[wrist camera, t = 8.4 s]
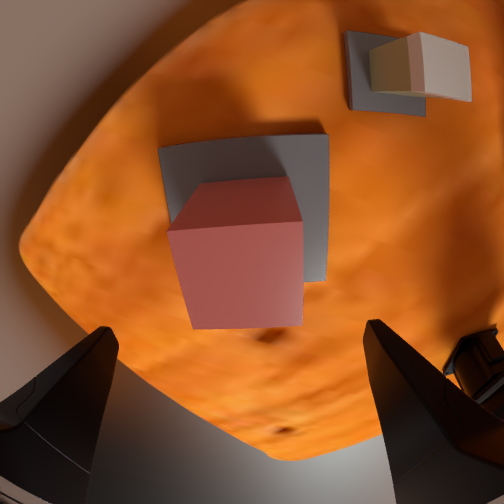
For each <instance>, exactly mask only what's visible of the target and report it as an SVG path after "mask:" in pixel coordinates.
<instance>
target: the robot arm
mask: <svg viewBox="0 0 504 504" xmlns="http://www.w3.org/2000/svg"><path fill="white" fill-rule="evenodd" d="M497 333H498V330H497V328H495V329H491V330H488V331H485V332H481V333H477V334H474V335H470V336H466V337H463V338H462V339H461V340H460V341H459V343H458V345H457V347H456V349H455V351H454V353H453V355H452V357H451V358H450V360H449V362H448V364H447V366H446V367H445V369H444V371H443V374H444V375H443V374H442V373H441V372H440V371H439V370H438V369H437V368H436V367H434V366H433V365H432V364H431V363H430V362H429V361H428V360H427V359H425V358H424V357H423V356H422V355H421V354H420V353H419V352H417V351H416V350H415V349H414V348H413V347H412V346H410V345H409V344H408V343H407V342H406V341H405V340H403V339H402V338H401V337H400V336H399V335H398V334H396V333H395V332H394V331H393V330H392V329H391V328H389V327H388V326H387V325H386V324H385V323H384V322H382V321H381V320H380V319H373V320H368V321H367V323H366V328H365V332H364V336H363V345H364V351H365V357H366V363H367V369H368V376H369V382H370V386H371V390H372V393H373V397H374V401H375V405H376V409H377V413H378V417H379V421H380V425H381V429H382V433H383V437H384V442H385V446H386V451H387V455H388V460H389V465H390V470H391V475H392V480H393V484H394V486H393V487H394V492H395V498H396V503H397V504H504V350H503V348H502V347H501V345H500V344H499V342H498V341H497V339H496V335H497ZM118 350H119V343H118V341H117V339H116V337H115V335H114V333H113V331H112V329H111V328H110V327H106V326H100V327H99V328H97V329H96V330H95V331H93V332H92V333H91V334H89V335H88V336H87V337H85V338H84V339H83V340H81V341H80V342H79V343H78V344H76V345H75V346H74V347H72V348H71V349H70V350H69V351H67V352H66V353H65V354H63V355H62V356H61V357H60V358H58V359H57V360H56V361H54V362H53V363H52V364H51V365H49V366H48V367H47V368H46V369H44V370H43V371H42V372H41V373H40V374H38V375H37V376H36V377H34V378H33V379H32V380H31V381H29V382H28V383H27V384H26V385H24V386H23V387H22V388H20V389H19V390H17V391H16V392H15V393H13V394H12V395H10V396H9V397H8V398H6V399H5V400H3V401H1V402H0V504H86V498H87V492H88V486H89V480H90V473H91V469H92V463H93V458H94V453H95V449H96V444H97V440H98V435H99V431H100V427H101V423H102V419H103V415H104V411H105V407H106V403H107V400H108V396H109V392H110V389H111V385H112V380H113V376H114V371H115V364H116V360H117V355H118ZM453 373H454V375H455V377H456V379H457V382H458V384H459V386H460V388H461V389H459V388H458V387H457V386H456V385H455V384H454V383H452V382H451V381H450V380H449V379H448V378H447V379H446V375H450V374H453Z"/></svg>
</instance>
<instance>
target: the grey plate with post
mask: <svg viewBox="0 0 504 504" xmlns="http://www.w3.org/2000/svg"><path fill="white" fill-rule="evenodd" d="M158 153H159V159H160V165H161V171H162V177H163V182H164V188H165V193H166V198H167V204H168V209H169V214H170V219H171V223H173V221H174V220H175V218H176V217H177V215H178V214H179V212H180V211H181V210H182V208H183V207H184V205H185V204H186V202H187V201H188V200H189V198H190V197H191V195H192V194H193V193H194V191H195V190H196V188H197V187H198V186H199V184H201V183H210V182H220V181H230V180H242V179H254V178H268V177H284V176H289V179H290V182H291V185H292V188H293V191H294V194H295V197H296V200H297V204H298V207H299V210H300V213H301V216H302V220H303V282H315V281H326V268H327V250H328V226H329V134H327V133H299V134H275V135H258V136H245V137H234V138H223V139H214V140H206V141H198V142H190V143H183V144H176V145H170V146H164V147H161V148H159V149H158Z"/></svg>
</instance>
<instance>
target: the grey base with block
mask: <svg viewBox="0 0 504 504" xmlns="http://www.w3.org/2000/svg"><path fill="white" fill-rule="evenodd" d="M343 35H344V44H345V54H346V66H347V79H348V96H349V110H360V111H376V112H388V113H398V114H407V115H415V116H422V117H426V98H425V97H430V98H441V99H451V100H459V101H467V102H472V89H471V71H470V59H469V50H468V47H467V46H465V45H462V44H459V43H456V42H453V41H450V40H447V39H444V38H441V37H437V36H434V35H430V34H427V33H423V32H418V33H415V34H412V35H409V36H406V37H403V38H396V37H390V36H384V35H378V34H371V33H364V32H356V31H346V32H344V33H343Z"/></svg>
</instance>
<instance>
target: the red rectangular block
mask: <svg viewBox="0 0 504 504" xmlns="http://www.w3.org/2000/svg"><path fill="white" fill-rule="evenodd" d="M167 235H168V239H169V243H170V247H171V251H172V255H173V259H174V263H175V267H176V271H177V275H178V278H179V282H180V286H181V289H182V293H183V297H184V300H185V304H186V307H187V311H188V314H189V317H190V321H191V324H192V327H193V329H241V328H266V327H284V326H299V325H303V220H302V216H301V213H300V210H299V207H298V204H297V200H296V197H295V194H294V191H293V188H292V185H291V182H290V179H289V176H284V177H268V178H254V179H242V180H230V181H220V182H210V183H201V184H199V186H198V187H197V188H196V190H195V191H194V193H193V194H192V195H191V197H190V198H189V200H188V201H187V202H186V204H185V205H184V207H183V208H182V210H181V211H180V212H179V214H178V215H177V217H176V218H175V220H174V221H173V223H172V224H171V226H170V227H169V229H168V230H167Z"/></svg>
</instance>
